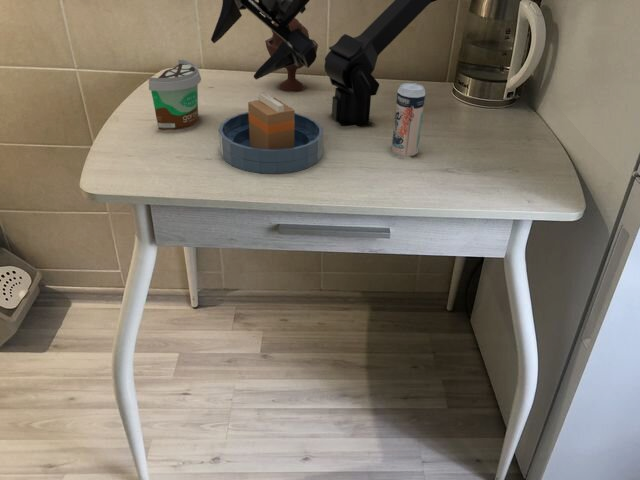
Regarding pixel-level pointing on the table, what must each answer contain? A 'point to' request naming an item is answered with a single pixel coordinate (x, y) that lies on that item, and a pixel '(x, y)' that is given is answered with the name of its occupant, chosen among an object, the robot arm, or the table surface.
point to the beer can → (408, 119)
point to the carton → (270, 124)
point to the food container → (176, 96)
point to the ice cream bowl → (291, 82)
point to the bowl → (270, 160)
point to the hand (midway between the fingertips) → (233, 59)
